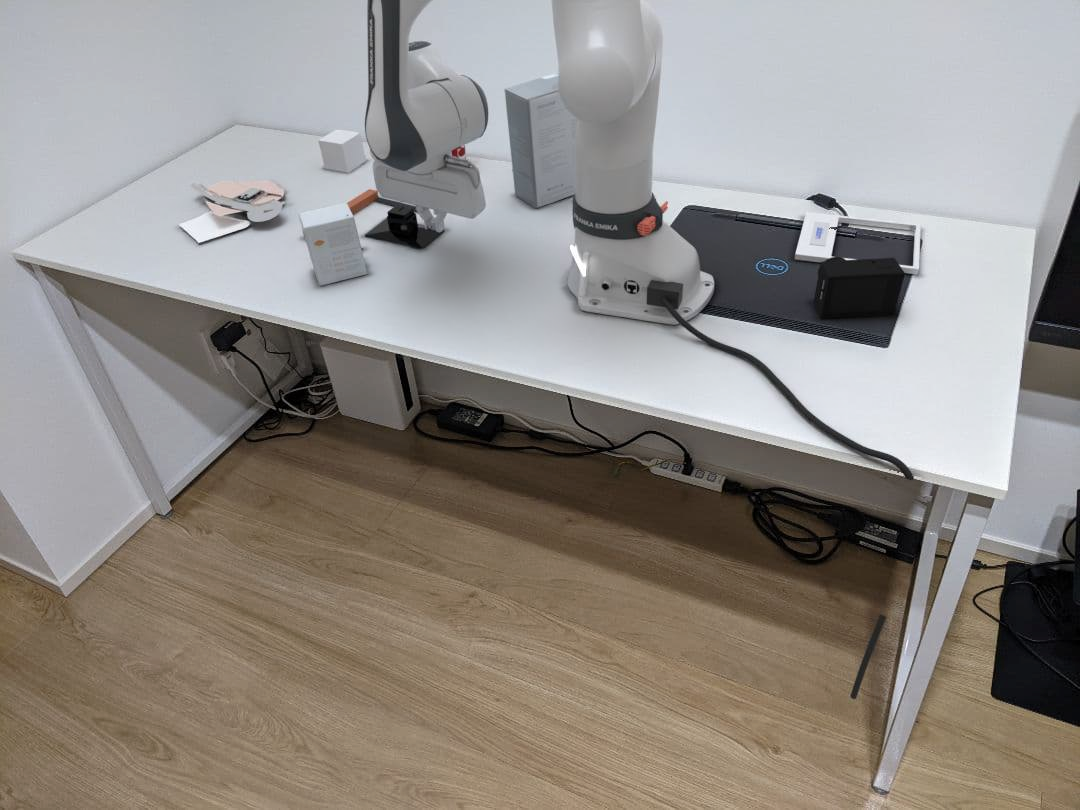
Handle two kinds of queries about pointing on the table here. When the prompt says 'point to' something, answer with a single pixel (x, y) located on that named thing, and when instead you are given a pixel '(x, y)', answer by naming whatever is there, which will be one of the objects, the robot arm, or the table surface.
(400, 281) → the table surface
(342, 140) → the white cube
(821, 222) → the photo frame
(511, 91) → the hard drive box
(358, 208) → the bar
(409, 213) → the build plate
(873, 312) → the digital camera
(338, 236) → the small box
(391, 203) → the bay lines
